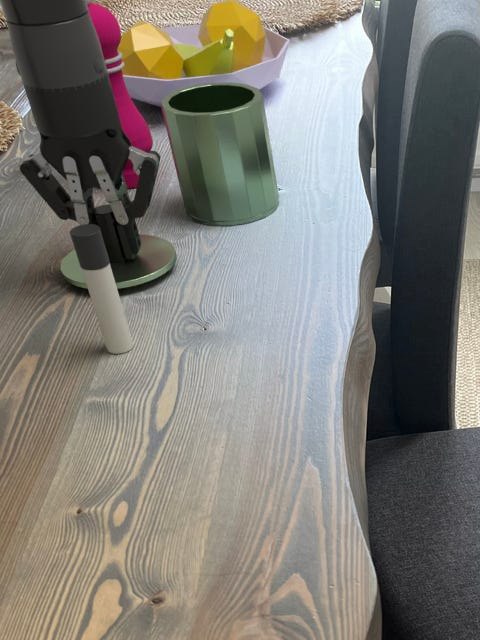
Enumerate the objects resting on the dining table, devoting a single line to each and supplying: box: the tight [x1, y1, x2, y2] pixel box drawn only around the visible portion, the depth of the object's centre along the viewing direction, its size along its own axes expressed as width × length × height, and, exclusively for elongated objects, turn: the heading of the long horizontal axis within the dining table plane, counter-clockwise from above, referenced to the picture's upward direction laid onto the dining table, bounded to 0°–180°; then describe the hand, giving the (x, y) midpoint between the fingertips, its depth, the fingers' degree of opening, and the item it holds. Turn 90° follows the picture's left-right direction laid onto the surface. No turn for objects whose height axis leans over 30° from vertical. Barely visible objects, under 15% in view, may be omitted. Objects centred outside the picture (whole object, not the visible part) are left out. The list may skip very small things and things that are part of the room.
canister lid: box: [59, 204, 178, 290], centre depth 102 cm, size 12×12×6 cm
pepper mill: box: [86, 0, 154, 190], centre depth 115 cm, size 7×7×20 cm
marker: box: [69, 224, 134, 355], centre depth 89 cm, size 2×2×11 cm
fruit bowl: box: [117, 0, 291, 108], centre depth 139 cm, size 28×27×11 cm
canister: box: [160, 82, 280, 227], centre depth 112 cm, size 11×11×12 cm
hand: (117, 256), depth 103 cm, fingers closed on canister lid, 2 cm apart
